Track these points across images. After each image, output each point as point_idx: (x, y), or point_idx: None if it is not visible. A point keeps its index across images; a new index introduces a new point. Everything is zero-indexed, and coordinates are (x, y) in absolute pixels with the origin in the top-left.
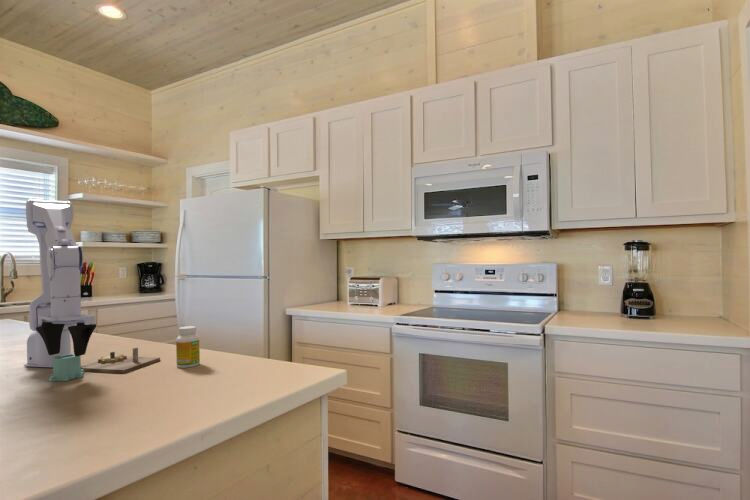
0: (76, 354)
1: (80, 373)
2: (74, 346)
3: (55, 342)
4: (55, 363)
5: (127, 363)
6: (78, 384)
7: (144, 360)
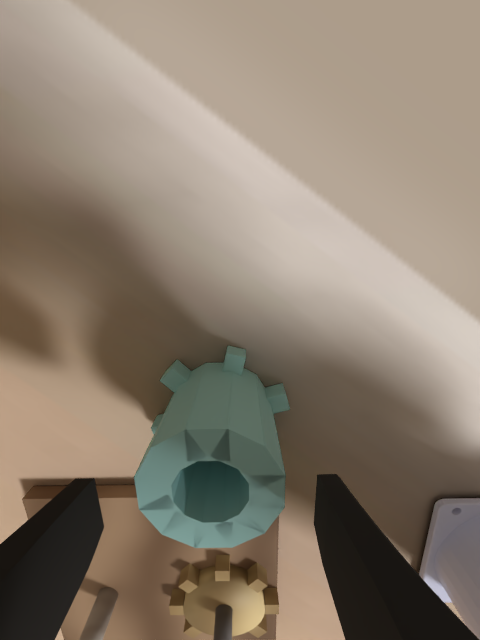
0: (67, 488)
1: (152, 426)
2: (15, 551)
3: (354, 621)
4: (220, 408)
5: (111, 570)
6: (61, 337)
7: (87, 608)
